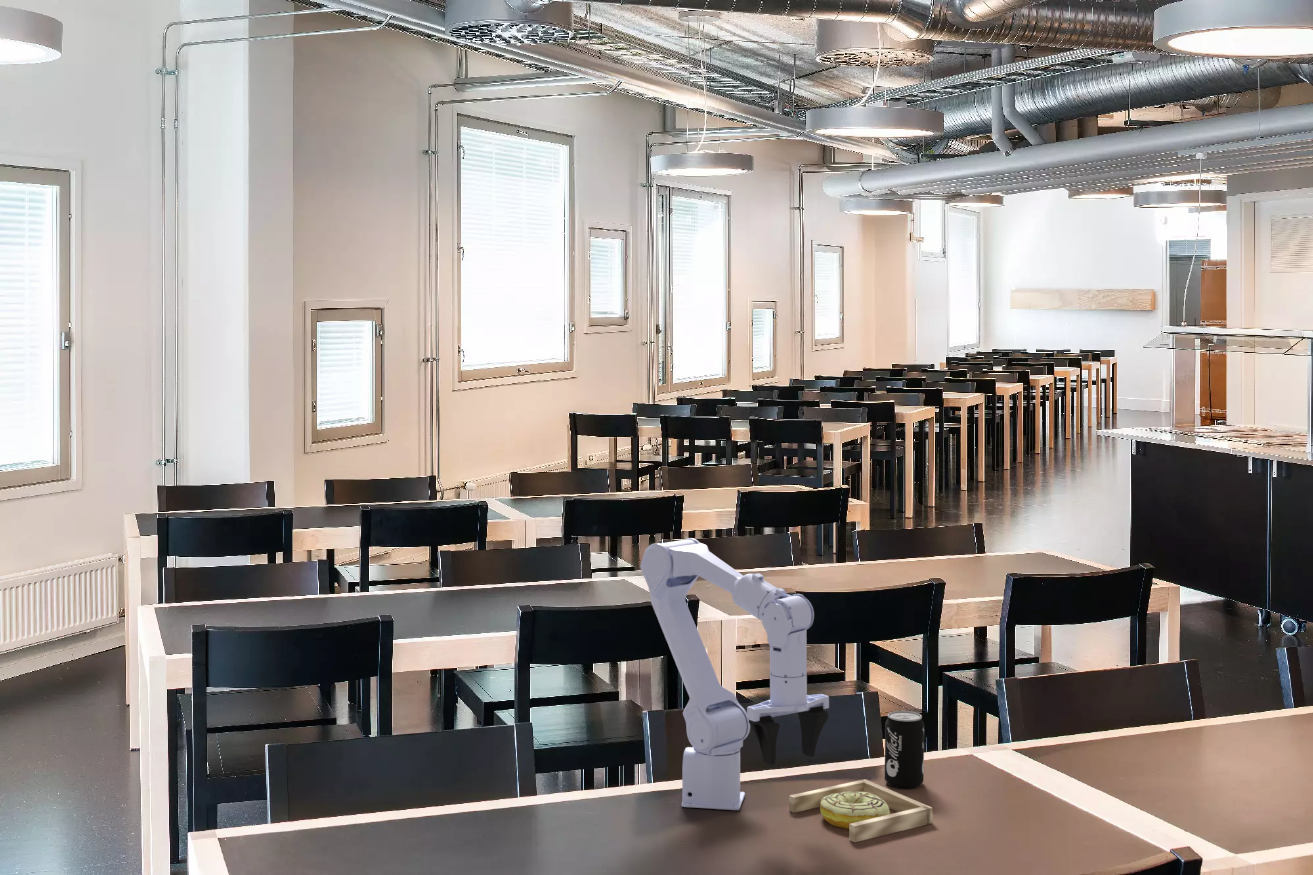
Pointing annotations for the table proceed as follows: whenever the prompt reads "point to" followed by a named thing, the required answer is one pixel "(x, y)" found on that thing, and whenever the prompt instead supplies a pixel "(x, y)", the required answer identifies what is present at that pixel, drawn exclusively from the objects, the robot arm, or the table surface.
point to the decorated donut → (852, 808)
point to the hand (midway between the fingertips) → (789, 759)
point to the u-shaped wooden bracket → (906, 818)
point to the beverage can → (904, 749)
